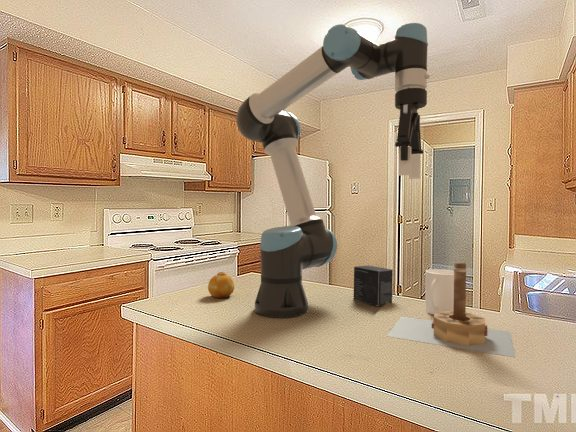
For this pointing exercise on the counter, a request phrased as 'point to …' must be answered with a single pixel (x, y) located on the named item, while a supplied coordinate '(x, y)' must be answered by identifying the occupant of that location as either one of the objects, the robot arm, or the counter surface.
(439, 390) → the counter surface
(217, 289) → the fruit
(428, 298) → the mug
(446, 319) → the bead
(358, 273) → the box
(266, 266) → the robot arm
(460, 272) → the brown cigar
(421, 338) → the board
